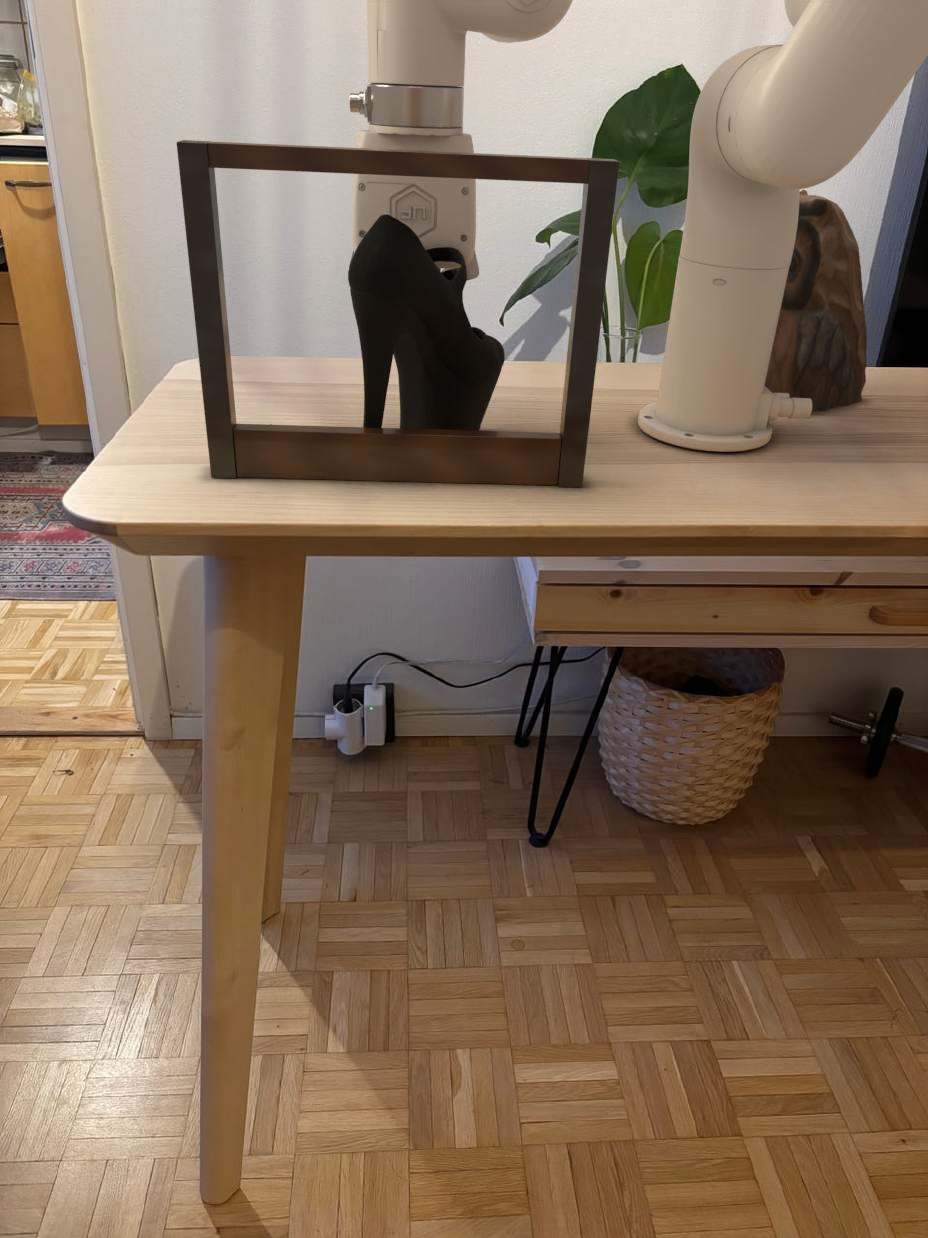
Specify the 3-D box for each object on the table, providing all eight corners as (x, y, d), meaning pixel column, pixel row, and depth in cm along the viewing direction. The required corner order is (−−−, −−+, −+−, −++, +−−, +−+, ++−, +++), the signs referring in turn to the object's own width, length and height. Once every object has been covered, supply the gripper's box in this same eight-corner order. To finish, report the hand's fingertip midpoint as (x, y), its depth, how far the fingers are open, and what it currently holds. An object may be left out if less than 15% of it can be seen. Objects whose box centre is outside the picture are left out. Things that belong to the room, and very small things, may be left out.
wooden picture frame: (578, 478, 77) (614, 158, 65) (582, 487, 75) (619, 161, 63) (215, 468, 76) (182, 139, 63) (211, 478, 74) (176, 141, 62)
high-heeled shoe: (512, 430, 87) (547, 202, 75) (384, 495, 73) (402, 231, 62) (444, 403, 90) (468, 182, 79) (310, 462, 77) (314, 204, 65)
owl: (793, 418, 93) (843, 204, 83) (700, 386, 102) (734, 188, 92) (867, 401, 100) (922, 199, 90) (773, 372, 109) (813, 185, 98)
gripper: (312, 109, 70) (322, 354, 79) (513, 118, 70) (500, 361, 79) (326, 106, 76) (334, 333, 86) (510, 114, 76) (497, 339, 86)
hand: (413, 345), depth 82 cm, fingers closed
